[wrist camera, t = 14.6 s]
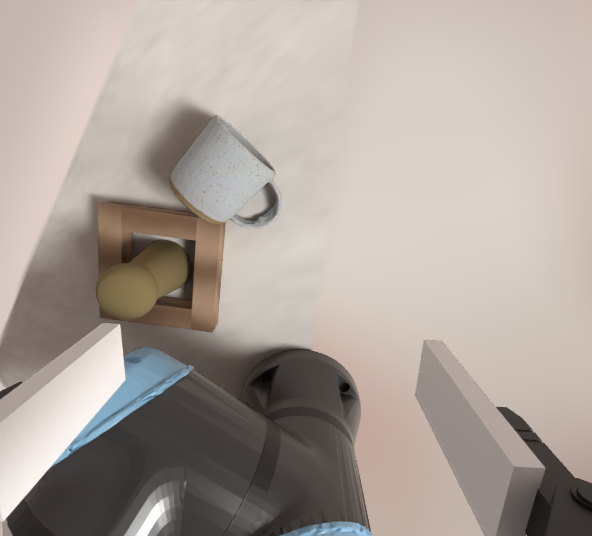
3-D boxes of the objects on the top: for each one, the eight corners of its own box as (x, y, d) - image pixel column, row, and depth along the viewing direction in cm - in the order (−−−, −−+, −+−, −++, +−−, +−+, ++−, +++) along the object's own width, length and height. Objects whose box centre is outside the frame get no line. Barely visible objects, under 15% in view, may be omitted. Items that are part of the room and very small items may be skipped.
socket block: (217, 323, 42) (212, 332, 40) (111, 309, 42) (99, 317, 40) (225, 217, 39) (220, 220, 37) (110, 201, 39) (97, 203, 36)
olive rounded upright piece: (197, 286, 41) (160, 325, 31) (148, 292, 42) (95, 333, 31) (185, 236, 40) (142, 259, 29) (135, 243, 40) (74, 269, 29)
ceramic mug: (178, 177, 38) (149, 180, 31) (226, 118, 36) (208, 106, 29) (251, 242, 40) (240, 260, 33) (300, 190, 38) (300, 195, 31)
